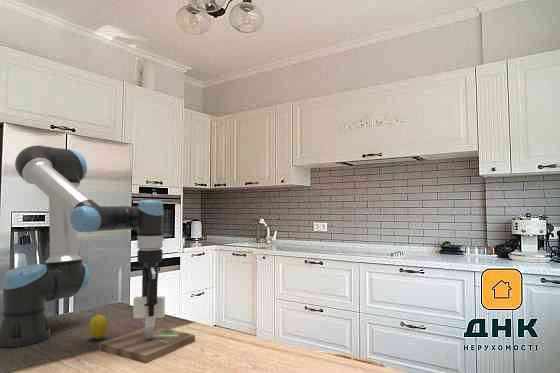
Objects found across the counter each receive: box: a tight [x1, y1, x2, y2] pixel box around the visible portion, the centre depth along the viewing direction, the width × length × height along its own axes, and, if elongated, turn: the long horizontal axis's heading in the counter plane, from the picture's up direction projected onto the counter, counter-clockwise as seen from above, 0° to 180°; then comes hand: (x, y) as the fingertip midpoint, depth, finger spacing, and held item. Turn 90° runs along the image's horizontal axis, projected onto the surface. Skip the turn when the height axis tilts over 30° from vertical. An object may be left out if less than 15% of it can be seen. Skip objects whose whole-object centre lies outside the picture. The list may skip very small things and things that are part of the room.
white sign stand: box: [132, 295, 178, 339], centre depth 121 cm, size 14×2×12 cm, turn 94°
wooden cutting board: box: [98, 325, 196, 364], centre depth 121 cm, size 20×20×2 cm
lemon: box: [88, 313, 108, 340], centre depth 127 cm, size 6×6×8 cm
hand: (148, 324), depth 121 cm, fingers closed on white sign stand, 4 cm apart
